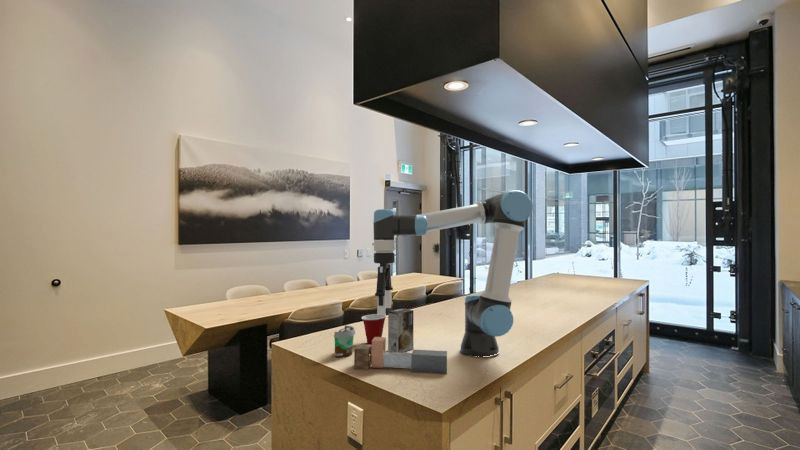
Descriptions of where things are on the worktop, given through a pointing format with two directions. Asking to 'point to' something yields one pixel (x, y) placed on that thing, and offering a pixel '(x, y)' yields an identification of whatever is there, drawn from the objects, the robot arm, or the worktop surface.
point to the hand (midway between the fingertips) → (384, 311)
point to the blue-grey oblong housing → (429, 361)
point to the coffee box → (400, 330)
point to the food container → (344, 342)
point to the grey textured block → (362, 356)
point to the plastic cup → (373, 326)
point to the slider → (387, 356)
